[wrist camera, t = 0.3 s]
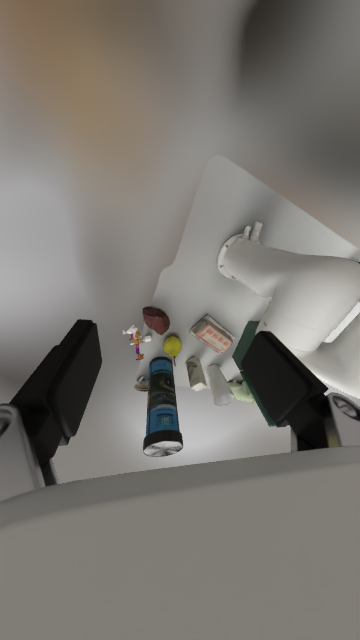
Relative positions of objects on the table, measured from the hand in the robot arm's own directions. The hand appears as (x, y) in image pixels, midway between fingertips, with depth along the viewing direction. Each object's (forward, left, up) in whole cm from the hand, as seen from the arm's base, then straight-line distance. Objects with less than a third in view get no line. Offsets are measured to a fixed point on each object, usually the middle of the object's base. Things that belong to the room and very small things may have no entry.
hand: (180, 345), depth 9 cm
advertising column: (+48, +4, -40) cm, 62 cm away
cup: (+50, +29, -40) cm, 70 cm away
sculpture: (+61, -3, -36) cm, 71 cm away
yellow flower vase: (+33, +7, -40) cm, 52 cm away
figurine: (+64, +48, -40) cm, 89 cm away
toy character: (+35, -4, -31) cm, 47 cm away
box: (+45, +18, -40) cm, 63 cm away
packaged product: (+29, +23, -40) cm, 54 cm away
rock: (+19, +1, -38) cm, 42 cm away
